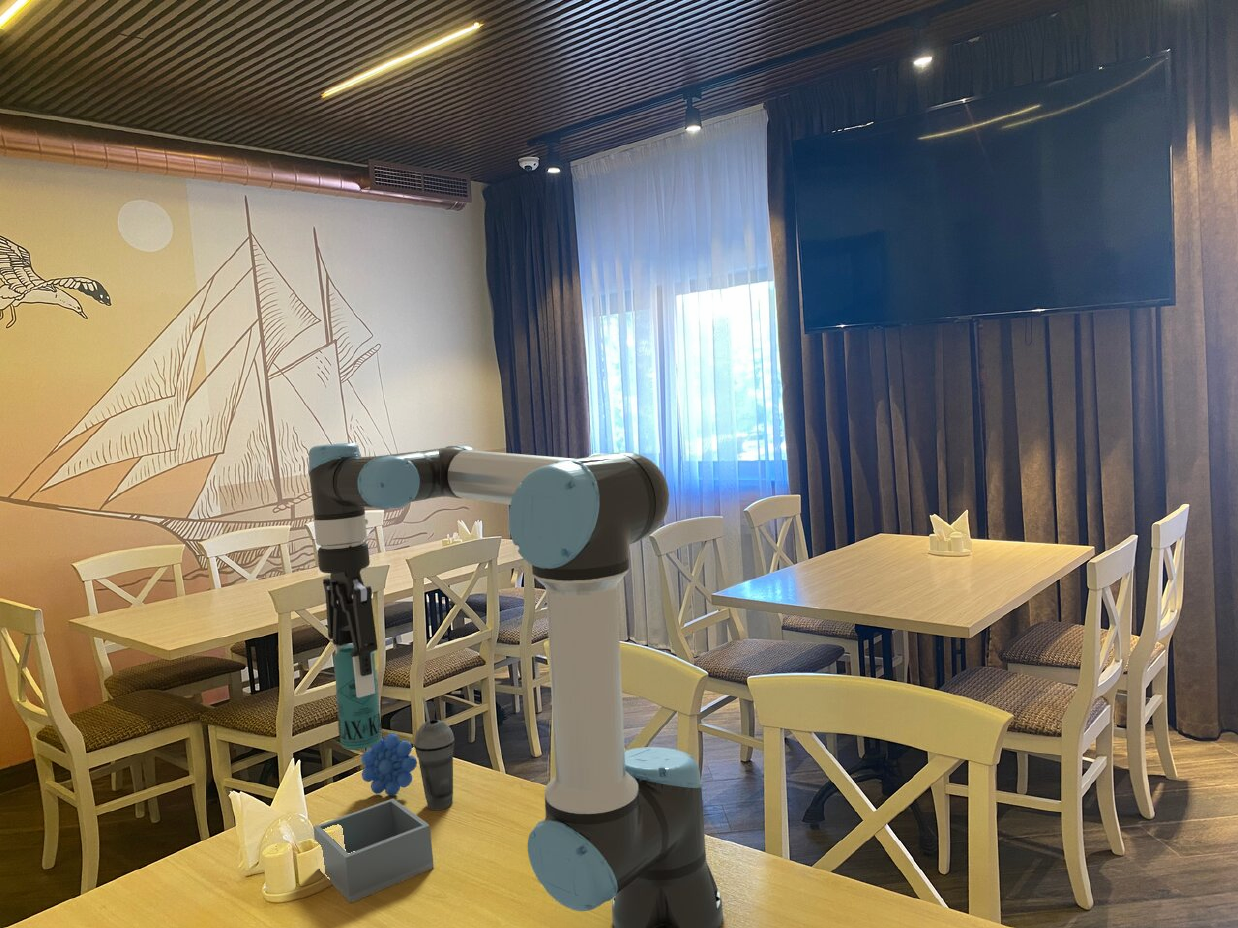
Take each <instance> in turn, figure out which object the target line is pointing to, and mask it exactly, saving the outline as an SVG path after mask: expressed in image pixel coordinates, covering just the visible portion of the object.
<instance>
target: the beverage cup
mask: <svg viewBox="0 0 1238 928" xmlns="http://www.w3.org/2000/svg"><path fill="white" fill-rule="evenodd" d="M422 702H423V707H424V712H425V717H426V722H424V723H422V725H420V726H419V728H418V729H417V731H416V733H415V738H414V746H413V747H414V749H415V754H416V757H417V759H418V764H419V769H420V775H421V780H422V786H423V790H424V797H425V799H426V800H425V801H426V804H427V808H428V809H429V810H432V811H441V810H445V809H447V808H450V807H451V806H452V805H453V804H454V800H453V797H454V769H453V768H454V749H455V748H454V747H455V741H456V740H455V737H454V733H453V730H452V729H451V727H450V725H448V724H447V723H445V721H442V720H440V719H431V718H430V715H429V714H430V713H429V709H428V706H427V700H426V697H422Z"/></svg>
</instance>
